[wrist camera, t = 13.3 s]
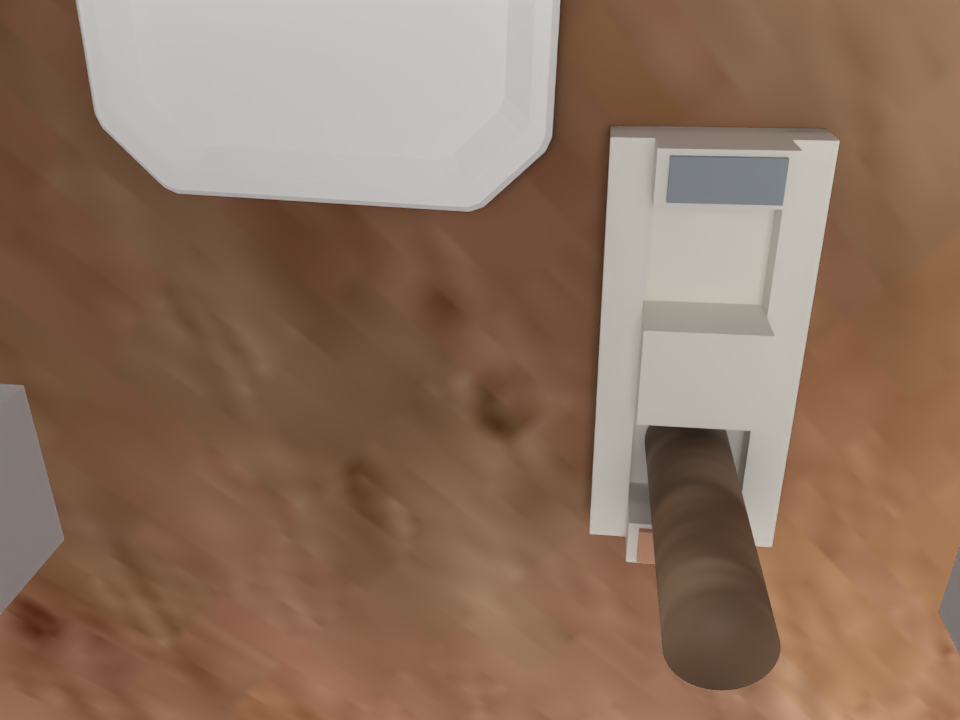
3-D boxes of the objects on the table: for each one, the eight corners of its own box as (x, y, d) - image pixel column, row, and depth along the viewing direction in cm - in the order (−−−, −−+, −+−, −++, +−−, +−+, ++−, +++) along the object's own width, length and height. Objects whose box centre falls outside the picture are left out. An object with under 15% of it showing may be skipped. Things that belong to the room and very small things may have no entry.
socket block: (590, 505, 46) (588, 562, 42) (610, 125, 38) (610, 149, 33) (763, 517, 45) (779, 577, 41) (825, 128, 36) (854, 153, 32)
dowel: (641, 472, 44) (658, 685, 31) (647, 403, 42) (666, 599, 30) (722, 476, 43) (772, 694, 31) (731, 407, 42) (788, 608, 29)
